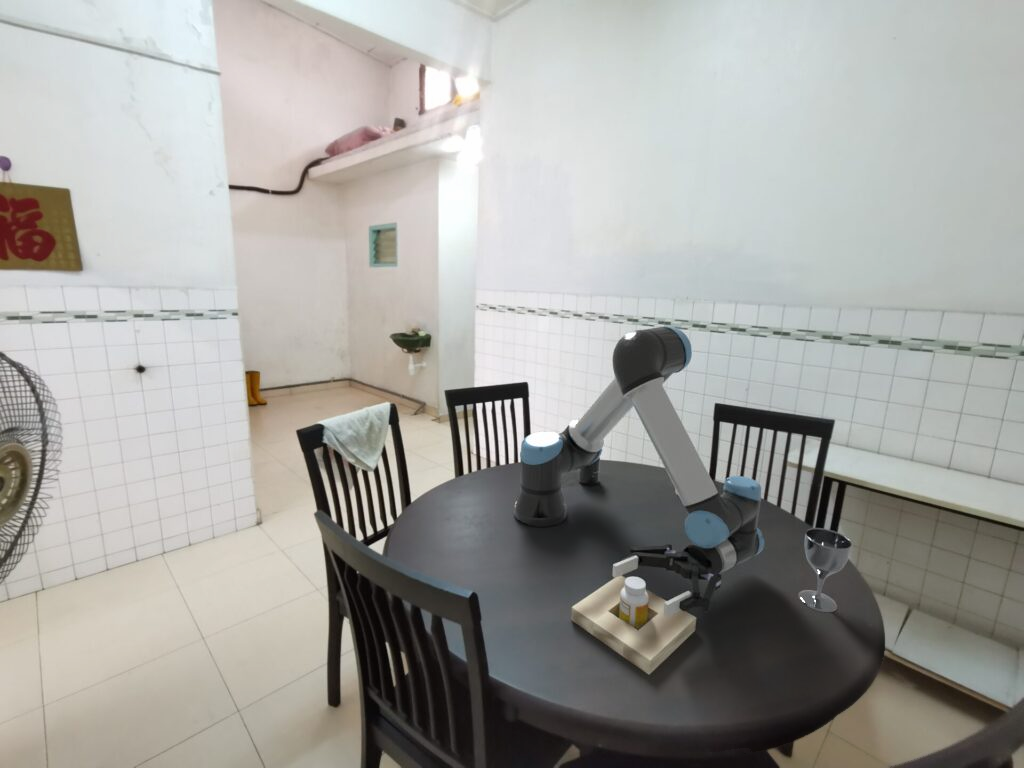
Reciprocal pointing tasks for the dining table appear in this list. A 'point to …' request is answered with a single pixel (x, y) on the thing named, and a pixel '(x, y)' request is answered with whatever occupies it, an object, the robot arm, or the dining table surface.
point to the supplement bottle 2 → (634, 602)
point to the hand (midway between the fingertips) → (637, 589)
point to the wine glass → (824, 564)
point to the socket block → (632, 644)
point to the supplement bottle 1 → (590, 473)
